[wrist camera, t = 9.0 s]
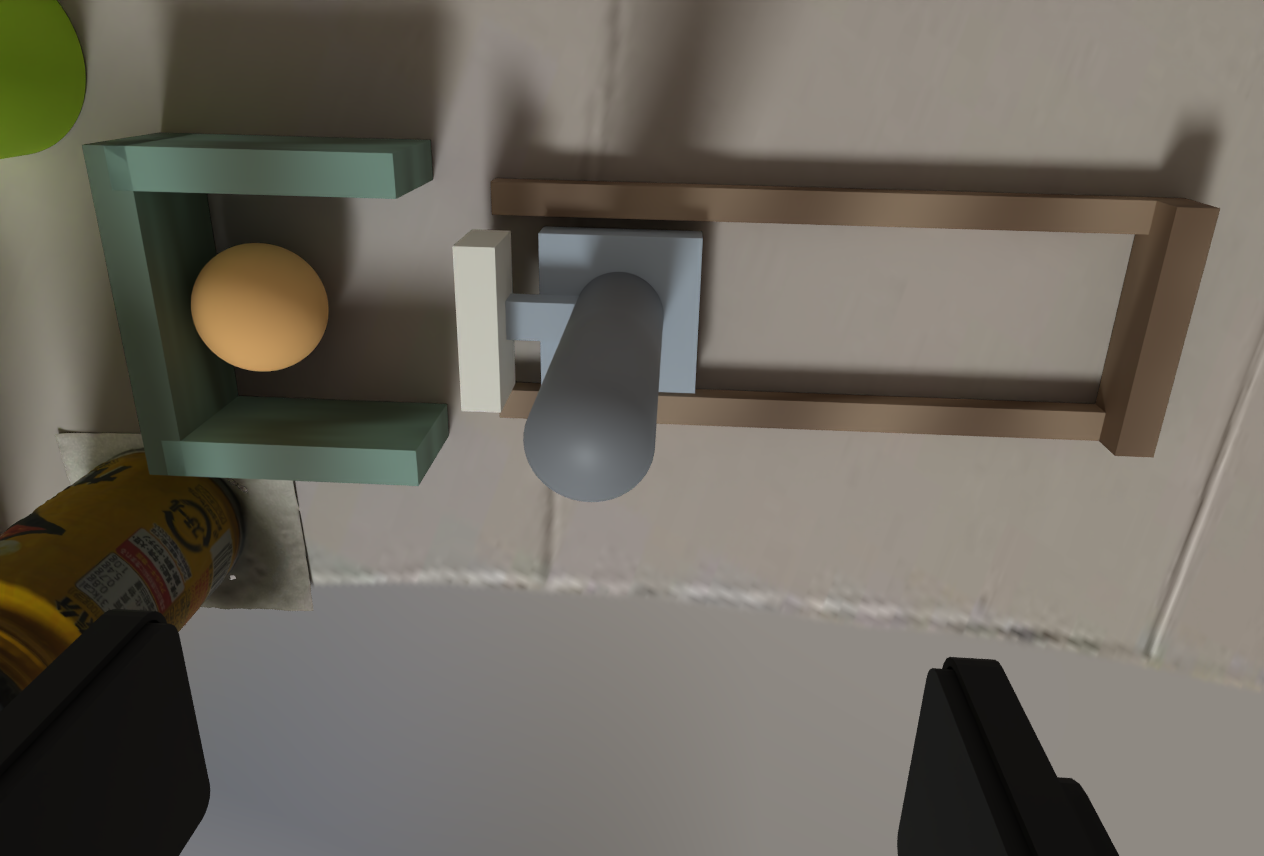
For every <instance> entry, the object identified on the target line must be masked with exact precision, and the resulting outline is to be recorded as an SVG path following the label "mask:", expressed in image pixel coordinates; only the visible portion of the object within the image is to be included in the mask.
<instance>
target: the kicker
mask: <svg viewBox="0 0 1264 856" xmlns="http://www.w3.org/2000/svg"><path fill="white" fill-rule="evenodd" d="M538 238H539V291H540V294H513V287H512V254H511V231H505V230H473V229H472V230H471V231H470V232H469V233H467V234H466V235H465V236H464V237H463V238H462V239H460V240H459V241H458V242H457V243H456V244H455V245H453V246H452V247H453V265H454V283H455V301H456V319H457V337H458V355H459V373H460V391H461V409H462V411H474V412H500V413H501V411H502V409H503V407H504V405H505V403H506V401H507V399H508V397H509V395H510V393H511V391H512V389H513V387H514V385H515V353H514V340H529V341H540V345H541V387H540V390H539V392H538V394H537V397H536V399H535V402H534V404H533V406H532V409H531V411H530V413H529V416H528V418H527V421H526V424H525V429H524V439H523V441H524V450H525V454H526V457H527V460H528V462H529V465H530V466H531V468H532V470H533V472H534V473H535V474H536V476H537V477H538V478H539V479H540V480H541V481H542V482H543V483H544V484H545V485H546V486H547V487H549V488H550V489H551V490H553V491H555V492H556V493H558V494H560V495H562V496H564V497H567V498H570V499H573V500H578V501H584V502H599V501H606V500H610V499H614V498H616V497H619V496H621V495H623V494H625V493H627V492H628V491H630V490H631V489H632V488H634V487H635V486H636V485H637V484H638V483H639V482H640V481H641V480H642V479H643V477H644V476H645V475H646V473H647V471H648V470H649V468H650V465H651V463H652V460H653V456H654V450H655V438H656V423H657V408H658V393H659V392H673V393H695V380H696V361H697V341H698V322H699V302H700V283H701V263H702V244H703V236H702V231H680V230H647V229H615V228H582V227H549V226H544V227H543V228H542V229H541V231H540V232H539V233H538Z"/></svg>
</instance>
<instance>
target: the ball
mask: <svg viewBox="0 0 1264 856" xmlns="http://www.w3.org/2000/svg"><path fill="white" fill-rule="evenodd" d="M191 312H192V318H193V322H194V325H195V327H196V330H197V332H198V334H199V335H200V337H201V339H202V340H203V341H204V343H205V344H206V345H207V346H208V348H209V349H210V350H211V351H212V352H213V353H215V354H216V355H217V356H218V357H220V358H221V359H223V360H224V361H226V362H228V363H230V364H232V365H234V366H237V367H239V368H242V369H246V370H252V371H275V370H280V369H284V368H287V367H289V366H292V365H294V364H296V363H298V362H299V361H301V360H302V359H304V358H305V357H307V356H308V355H309V354H310V353H311V352H312V351H313V350H314V349H315V347H316V346H317V345H318V343H319V342H320V340H321V338H322V337H323V334H324V332H325V330H326V326H327V322H328V314H329V308H328V299H327V294H326V291H325V288H324V286H323V284H322V282H321V280H320V278H319V277H318V275H317V274H316V272H315V271H314V270H313V268H312V267H311V266H310V265H309V264H308V263H307V262H306V261H305V260H303V259H302V258H301V257H299V256H298V255H297V254H295V253H293V252H291V251H289V250H287V249H285V248H282V247H279V246H276V245H272V244H266V243H247V244H241V245H237V246H234V247H231V248H228V249H226V250H224V251H222V252H221V253H219V254H218V255H216V256H215V257H213V258H212V259H211V260H210V261H209V262H208V263H207V264H206V265H205V266H204V268H203V269H202V270H201V272H200V273H199V275H198V277H197V279H196V281H195V284H194V286H193V290H192V295H191Z"/></svg>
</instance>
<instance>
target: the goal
mask: <svg viewBox="0 0 1264 856" xmlns="http://www.w3.org/2000/svg"><path fill="white" fill-rule="evenodd" d="M82 148H83V153H84V158H85V163H86V168H87V172H88V177H89V182H90V187H91V192H92V197H93V202H94V207H95V211H96V216H97V221H98V226H99V231H100V236H101V241H102V246H103V250H104V255H105V260H106V265H107V270H108V275H109V280H110V284H111V289H112V294H113V299H114V304H115V309H116V314H117V319H118V323H119V328H120V333H121V338H122V343H123V348H124V353H125V358H126V362H127V367H128V372H129V377H130V382H131V387H132V392H133V397H134V401H135V406H136V411H137V416H138V421H139V426H140V431H141V435H142V440H143V445H144V450H145V455H146V460H147V465H148V470H149V474H150V475H171V476H195V477H219V478H243V479H266V480H290V481H314V482H338V483H362V484H386V485H409V486H419V484H420V483H421V481H422V479H423V478H424V476H425V474H426V473H427V471H428V469H429V468H430V466H431V464H432V463H433V461H434V459H435V458H436V456H437V454H438V453H439V451H440V449H441V448H442V446H443V444H444V443H445V441H446V440H447V438H448V436H449V430H448V414H447V404H434V403H407V402H381V401H355V400H329V399H303V398H277V397H251V396H238V390H237V384H236V378H235V371H234V365H232V364H230V363H228V362H226V361H224V360H223V359H221V358H220V357H218V356H217V355H216V354H215V353H213V352H212V351H211V350H210V349H209V348H208V346H207V345H206V344H205V343H204V341H203V340H202V339H201V337H200V335H199V334H198V332H197V330H196V327H195V325H194V322H193V318H192V312H191V295H192V290H193V286H194V284H195V281H196V279H197V277H198V275H199V273H200V272H201V270H202V269H203V268H204V266H205V265H206V264H207V263H208V262H209V261H210V260H211V259H212V258H213V257H215V256H216V251H215V244H214V238H213V232H212V225H211V219H210V212H209V206H208V200H207V193H217V194H251V195H284V196H318V197H352V198H385V199H397V198H399V197H401V196H402V195H404V194H406V193H408V192H410V191H412V190H414V189H416V188H418V187H420V186H422V185H424V184H426V183H428V182H429V181H431V180H433V173H432V157H431V141H430V140H412V139H375V138H338V137H301V136H264V135H228V134H191V133H154V134H148V135H142V136H135V137H129V138H122V139H116V140H110V141H103V142H97V143H90V144H84V145H82Z"/></svg>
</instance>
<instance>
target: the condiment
mask: <svg viewBox="0 0 1264 856" xmlns="http://www.w3.org/2000/svg"><path fill="white" fill-rule="evenodd" d="M55 437H56V439H57V442H58V446H59V450H60V453H61V456H62V461H63V464H64V466H65V468H66V473H67V477H68V479H69V481H70V484H71V486H69V487H67V488H66V489H64V490H63V491H62V492H60V493H58V494H57V495H56V496H55V497H53V498H52V499H50V500H47V501H46V502H45V504H43V505H41V506H39V507H38V508H37V509H35V510H34V512H33V513H32V514H30V515H29V516H27V517H25V518H24V519H21V520H20V521H18V522H16V523H15V524H13V525H12V526H11V527H10V528H8V529H7V530H6V532H4V533H3V534H1V535H0V712H1V711H2V710H3V709H4V708H5V707H6V706H7V705H8V704H9V703H10V702H11V701H12V700H13V699H14V698H15V697H16V696H17V695H18V694H19V693H20V692H22V691H23V690H24V689H25V688H26V687H27V686H28V685H29V684H30V683H31V682H32V681H33V680H34V679H35V678H36V677H37V676H38V675H39V674H40V673H41V672H42V671H44V670H45V669H46V668H47V667H48V666H49V665H50V664H51V663H52V662H53V661H54V660H55V659H56V658H57V657H58V656H59V655H60V654H61V653H62V652H63V651H64V650H66V649H67V648H68V647H69V646H70V645H71V644H72V643H73V642H74V641H75V640H76V639H77V638H78V637H79V636H80V635H81V634H82V633H83V632H84V631H85V630H86V629H88V628H89V627H90V626H91V625H92V624H93V623H94V622H95V621H96V620H97V619H98V618H99V617H100V616H101V615H102V614H104V613H105V612H107V611H108V610H112V609H127V610H145V611H157V612H160V613H162V615H163V616H164V617H165V618H166V621H167V624H172V625H174V626H175V627H176V628H177V630H178V632H179V631H180V630H181V628H183V626H184V625H185V624H186V623H187V622H188V621H189V619H190V618H191V617H192V616H193V615H194V614H195V613H196V611H197V610H198V609H199V608H200V607H207V608H211V607H215V608H220V609H236V608H237V609H238V608H243V609H275V610H284V611H313V604H312V597H311V593H310V592H311V584H310V580H309V572H308V566H307V561H306V554H305V545H304V540H303V534H302V529H301V523H300V517H299V506H298V504H297V500H296V496H295V490H294V485H293V481H290V480H266V479H243V478H232V479H233V480H234V481H235V482H236V483H237V485H238V484H240V485H242V486H244V487H246V488H247V489H248V492H247V493H245V492H243V491H241V490H240V489H239V488H238V487H237V485H232V484H230V483H229V481H228V480H229V479H228V478H219V477H195V476H171V475H150V474H149V470H148V465H147V460H146V455H145V450H144V445H143V440H142V435H141V434H130V433H96V434H94V433H63V434H55ZM230 575H235V577H236V579H234V580H230V579H231V578H230Z"/></svg>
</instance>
